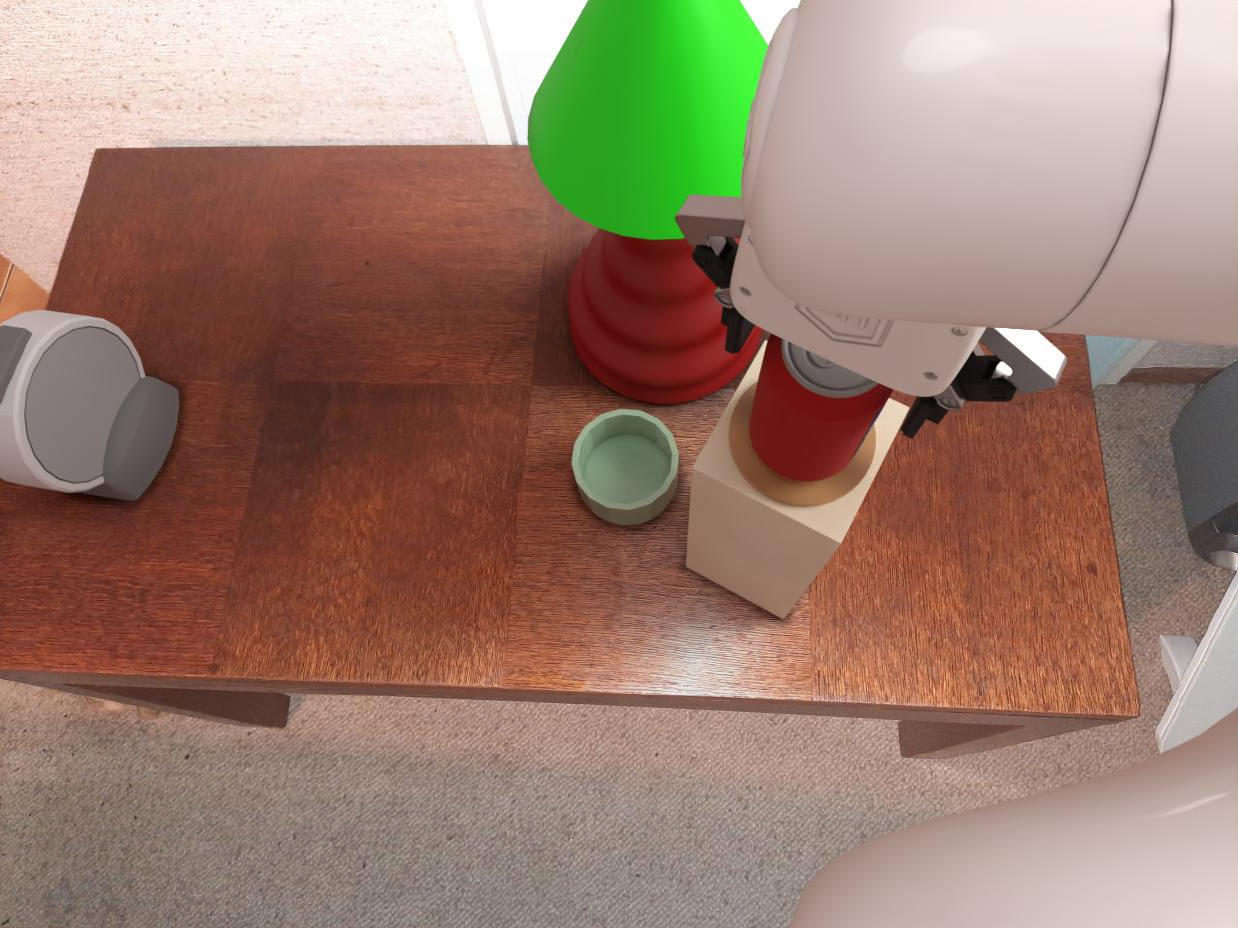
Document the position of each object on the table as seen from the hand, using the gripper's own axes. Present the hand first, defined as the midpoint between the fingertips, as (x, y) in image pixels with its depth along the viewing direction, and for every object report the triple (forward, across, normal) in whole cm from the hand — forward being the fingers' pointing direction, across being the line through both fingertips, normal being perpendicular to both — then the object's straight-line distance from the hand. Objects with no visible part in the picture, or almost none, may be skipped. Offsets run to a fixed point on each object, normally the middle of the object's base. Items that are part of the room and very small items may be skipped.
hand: (828, 370), depth 44 cm
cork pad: (+10, 0, 0) cm, 10 cm away
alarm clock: (+38, -61, -20) cm, 75 cm away
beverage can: (+10, 0, 0) cm, 10 cm away
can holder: (+38, -14, 0) cm, 40 cm away
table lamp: (+38, -19, +17) cm, 46 cm away
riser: (+38, 0, 0) cm, 38 cm away
